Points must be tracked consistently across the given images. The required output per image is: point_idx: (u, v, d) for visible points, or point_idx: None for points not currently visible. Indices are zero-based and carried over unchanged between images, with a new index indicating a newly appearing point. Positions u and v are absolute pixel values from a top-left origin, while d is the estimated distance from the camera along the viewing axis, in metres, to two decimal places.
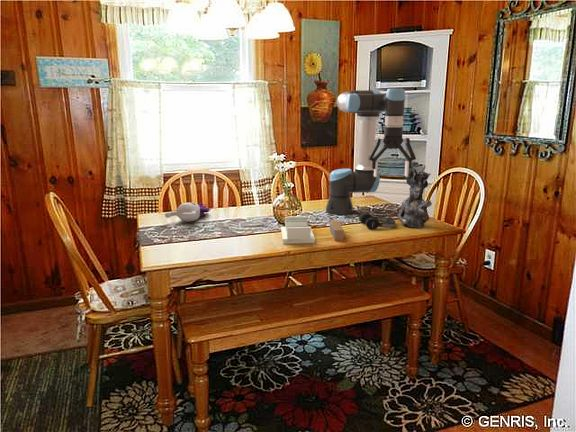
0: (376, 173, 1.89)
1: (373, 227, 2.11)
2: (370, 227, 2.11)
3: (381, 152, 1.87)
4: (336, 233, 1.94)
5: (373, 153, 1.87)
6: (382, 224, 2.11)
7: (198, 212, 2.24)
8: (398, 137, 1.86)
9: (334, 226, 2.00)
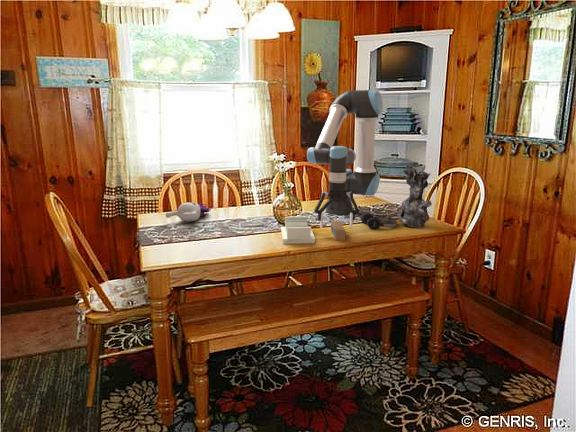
0: (321, 225, 1.99)
1: (375, 227, 2.11)
2: (372, 227, 2.11)
3: (326, 205, 1.97)
4: (337, 233, 1.94)
5: (318, 206, 1.97)
6: (383, 224, 2.12)
7: (198, 212, 2.24)
8: (342, 191, 1.96)
9: (335, 226, 2.00)
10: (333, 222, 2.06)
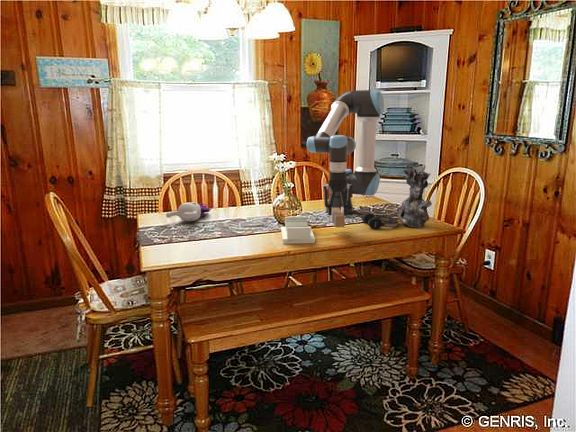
0: (332, 219, 1.99)
1: (376, 227, 2.11)
2: (373, 227, 2.11)
3: (332, 198, 1.97)
4: (337, 219, 1.93)
5: (326, 200, 1.97)
6: (385, 224, 2.12)
7: (199, 212, 2.24)
8: (342, 181, 1.95)
9: (335, 212, 1.98)
10: None
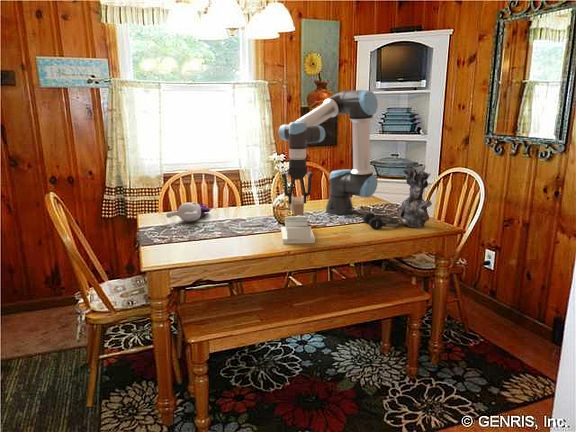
0: (292, 208, 1.95)
1: (377, 227, 2.12)
2: (374, 227, 2.12)
3: (292, 186, 1.93)
4: (296, 207, 1.89)
5: (285, 188, 1.93)
6: (386, 224, 2.12)
7: (199, 212, 2.24)
8: (302, 169, 1.91)
9: (295, 201, 1.94)
10: (293, 198, 2.01)
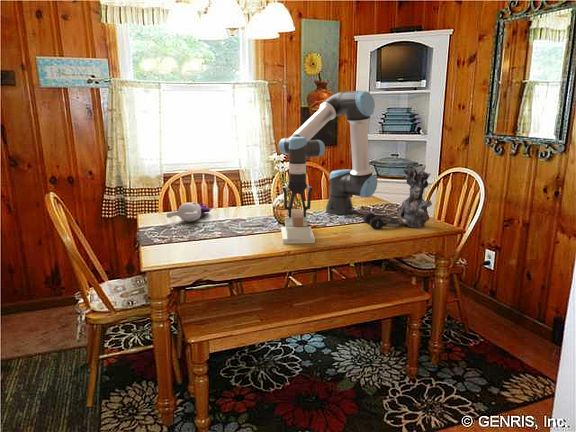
0: (292, 221, 1.97)
1: (378, 227, 2.12)
2: (375, 227, 2.12)
3: (291, 200, 1.95)
4: (295, 220, 1.90)
5: (285, 202, 1.95)
6: (387, 224, 2.12)
7: (199, 212, 2.24)
8: (302, 183, 1.93)
9: (294, 214, 1.96)
10: (293, 210, 2.02)
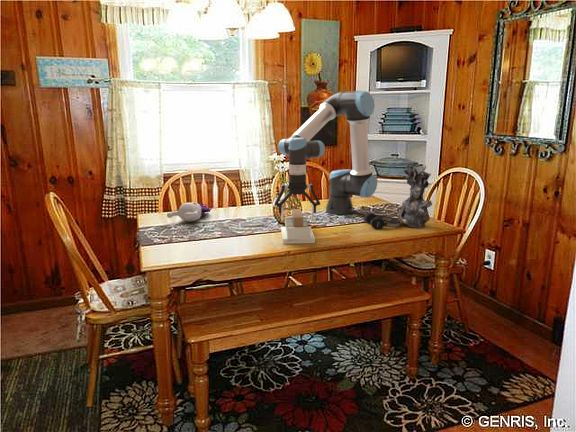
0: (282, 218, 1.96)
1: (378, 227, 2.12)
2: (375, 227, 2.12)
3: (286, 198, 1.94)
4: (295, 220, 1.90)
5: (278, 199, 1.94)
6: (387, 224, 2.12)
7: (200, 212, 2.24)
8: (302, 184, 1.93)
9: (294, 214, 1.96)
10: (293, 210, 2.02)
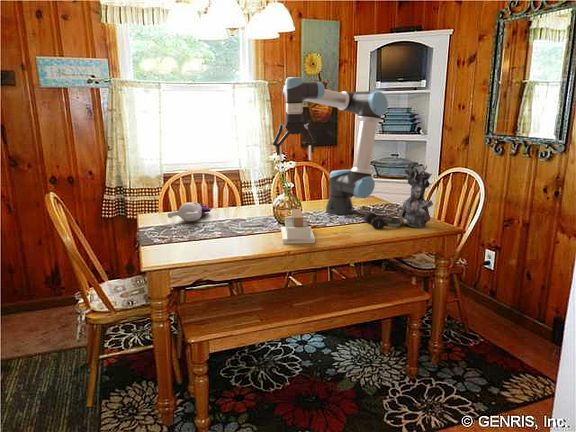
0: (281, 158, 2.01)
1: (379, 227, 2.12)
2: (376, 227, 2.12)
3: (284, 138, 1.99)
4: (295, 220, 1.90)
5: (276, 139, 1.99)
6: (388, 224, 2.12)
7: (200, 212, 2.24)
8: (299, 123, 1.98)
9: (294, 214, 1.96)
10: (293, 210, 2.02)
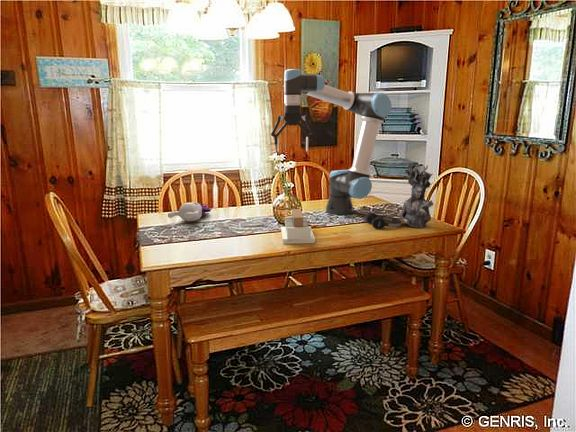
0: (278, 148, 2.05)
1: (379, 227, 2.12)
2: (376, 227, 2.12)
3: (282, 128, 2.03)
4: (295, 220, 1.90)
5: (274, 129, 2.03)
6: (388, 224, 2.12)
7: (200, 212, 2.24)
8: (297, 114, 2.02)
9: (294, 214, 1.96)
10: (293, 210, 2.02)
